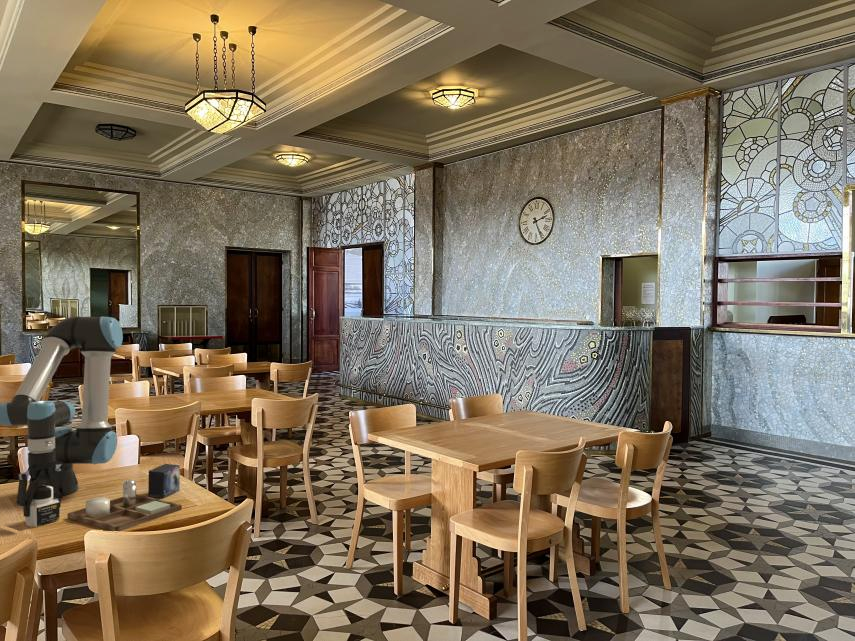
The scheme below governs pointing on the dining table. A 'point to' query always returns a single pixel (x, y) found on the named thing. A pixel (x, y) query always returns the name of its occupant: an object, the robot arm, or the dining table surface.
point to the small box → (164, 481)
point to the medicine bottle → (44, 506)
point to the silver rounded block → (97, 507)
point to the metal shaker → (129, 493)
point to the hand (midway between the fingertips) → (42, 522)
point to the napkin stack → (152, 507)
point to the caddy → (124, 514)
